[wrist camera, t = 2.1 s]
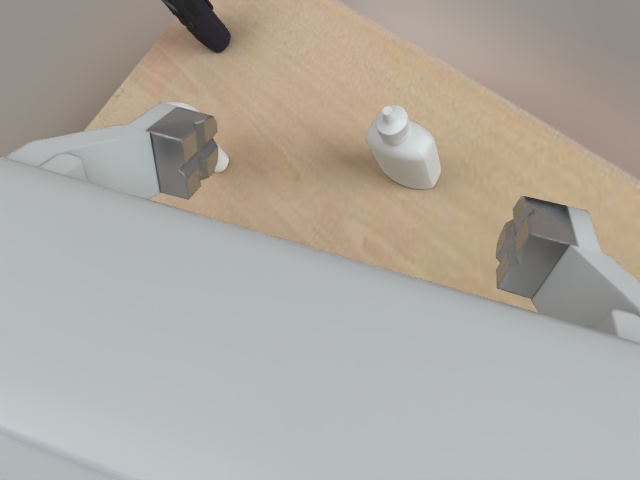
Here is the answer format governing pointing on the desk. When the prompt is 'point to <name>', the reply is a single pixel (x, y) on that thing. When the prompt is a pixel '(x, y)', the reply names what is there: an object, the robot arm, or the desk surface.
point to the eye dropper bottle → (404, 149)
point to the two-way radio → (201, 22)
